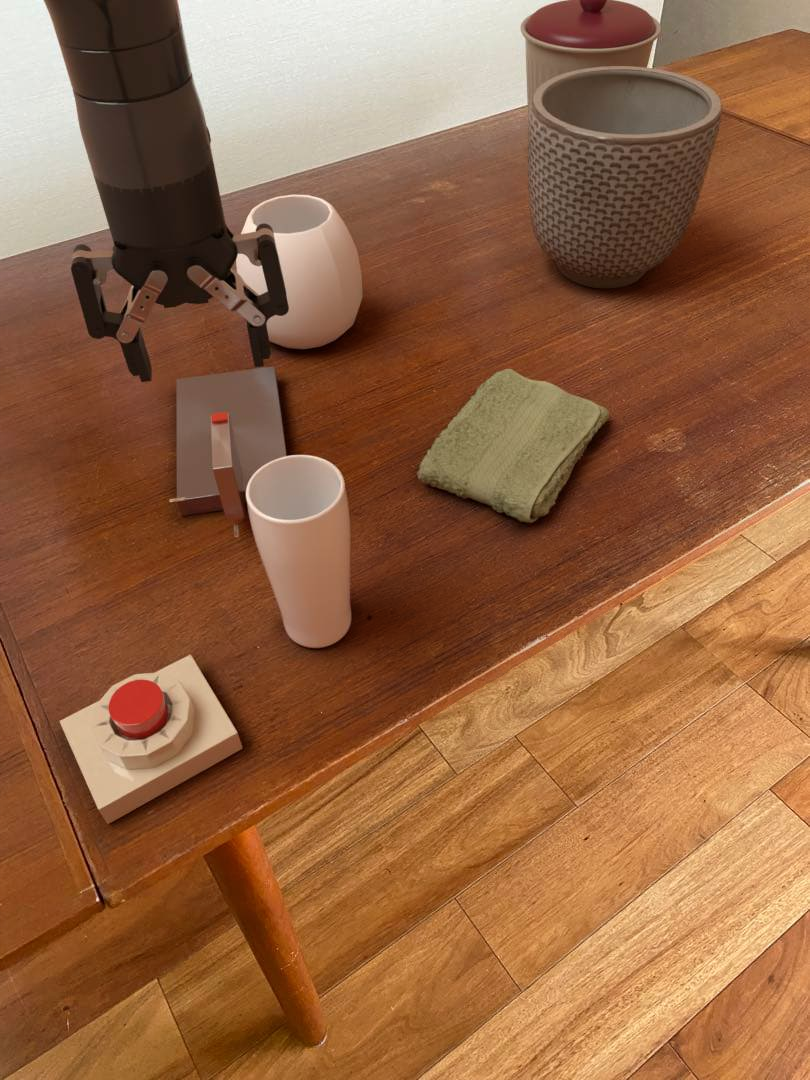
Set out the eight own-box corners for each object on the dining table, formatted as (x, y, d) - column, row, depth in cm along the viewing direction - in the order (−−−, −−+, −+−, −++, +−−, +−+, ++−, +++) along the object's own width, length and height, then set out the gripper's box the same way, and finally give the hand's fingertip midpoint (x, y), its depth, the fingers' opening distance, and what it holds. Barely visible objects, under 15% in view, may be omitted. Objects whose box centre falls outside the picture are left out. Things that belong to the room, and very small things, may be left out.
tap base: (306, 543, 74) (303, 526, 73) (174, 564, 73) (168, 546, 72) (283, 380, 90) (280, 363, 89) (174, 395, 89) (169, 378, 88)
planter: (495, 240, 109) (503, 78, 95) (640, 216, 112) (668, 55, 98) (555, 325, 96) (574, 151, 82) (716, 294, 99) (762, 122, 85)
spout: (245, 518, 74) (231, 464, 69) (226, 521, 74) (211, 466, 69) (240, 464, 78) (228, 410, 74) (223, 466, 78) (209, 412, 74)
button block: (107, 824, 58) (89, 797, 55) (68, 736, 62) (50, 706, 59) (243, 748, 61) (233, 718, 58) (196, 670, 66) (185, 639, 63)
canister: (578, 117, 134) (595, -44, 118) (667, 155, 123) (698, -15, 108) (487, 149, 127) (493, -16, 111) (573, 193, 117) (593, 17, 101)
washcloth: (613, 420, 84) (618, 393, 82) (537, 536, 74) (540, 510, 72) (492, 381, 89) (494, 355, 87) (405, 486, 79) (404, 459, 76)
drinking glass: (329, 578, 72) (308, 439, 61) (378, 628, 68) (366, 490, 57) (259, 619, 69) (225, 482, 58) (306, 674, 65) (279, 539, 54)
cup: (310, 284, 103) (296, 172, 93) (389, 324, 97) (383, 209, 87) (223, 332, 97) (198, 217, 87) (302, 379, 90) (285, 261, 80)
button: (126, 748, 57) (119, 735, 56) (107, 709, 59) (100, 695, 58) (177, 721, 59) (171, 707, 57) (156, 684, 61) (150, 670, 59)
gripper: (28, 196, 51) (106, 411, 63) (268, 169, 53) (300, 385, 65) (41, 144, 56) (111, 352, 68) (260, 121, 58) (291, 329, 70)
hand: (203, 368), depth 66 cm, fingers open, 8 cm apart
